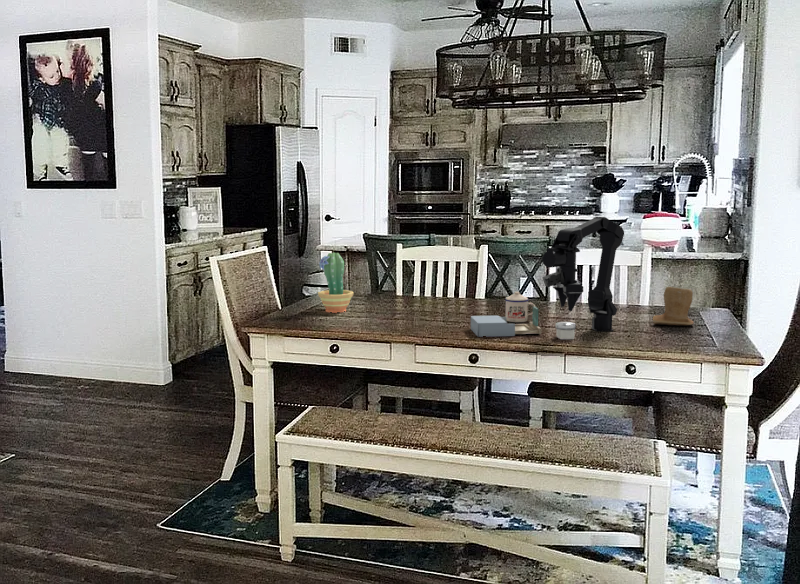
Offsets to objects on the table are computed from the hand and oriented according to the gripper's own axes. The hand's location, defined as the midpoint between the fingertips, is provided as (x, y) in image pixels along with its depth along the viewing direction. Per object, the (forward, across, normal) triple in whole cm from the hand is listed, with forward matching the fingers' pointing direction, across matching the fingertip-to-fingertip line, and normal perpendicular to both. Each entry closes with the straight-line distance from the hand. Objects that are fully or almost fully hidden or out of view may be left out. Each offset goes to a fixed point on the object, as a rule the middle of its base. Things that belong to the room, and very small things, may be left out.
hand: (566, 308), depth 278 cm
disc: (+7, 0, 0) cm, 7 cm away
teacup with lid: (+11, -34, -8) cm, 36 cm away
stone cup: (+11, -20, +49) cm, 54 cm away
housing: (+10, -12, -23) cm, 28 cm away
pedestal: (+10, 0, 0) cm, 11 cm away
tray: (+10, -12, -14) cm, 21 cm away
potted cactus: (+11, -64, -81) cm, 104 cm away
